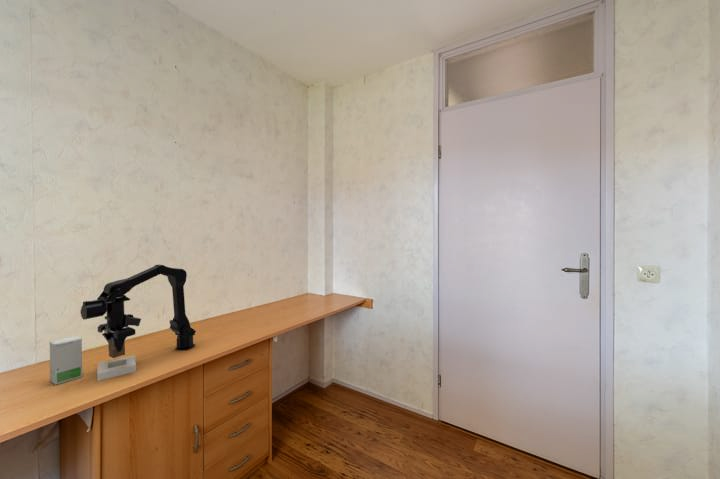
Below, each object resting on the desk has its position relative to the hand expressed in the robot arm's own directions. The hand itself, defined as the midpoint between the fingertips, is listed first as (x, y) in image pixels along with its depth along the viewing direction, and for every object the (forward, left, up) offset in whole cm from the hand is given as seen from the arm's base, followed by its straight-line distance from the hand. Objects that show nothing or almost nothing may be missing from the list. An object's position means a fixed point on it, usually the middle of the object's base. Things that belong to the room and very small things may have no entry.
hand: (117, 350), depth 124 cm
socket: (0, 0, -9) cm, 9 cm away
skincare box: (+14, +8, -9) cm, 18 cm away
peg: (0, 0, -2) cm, 2 cm away
